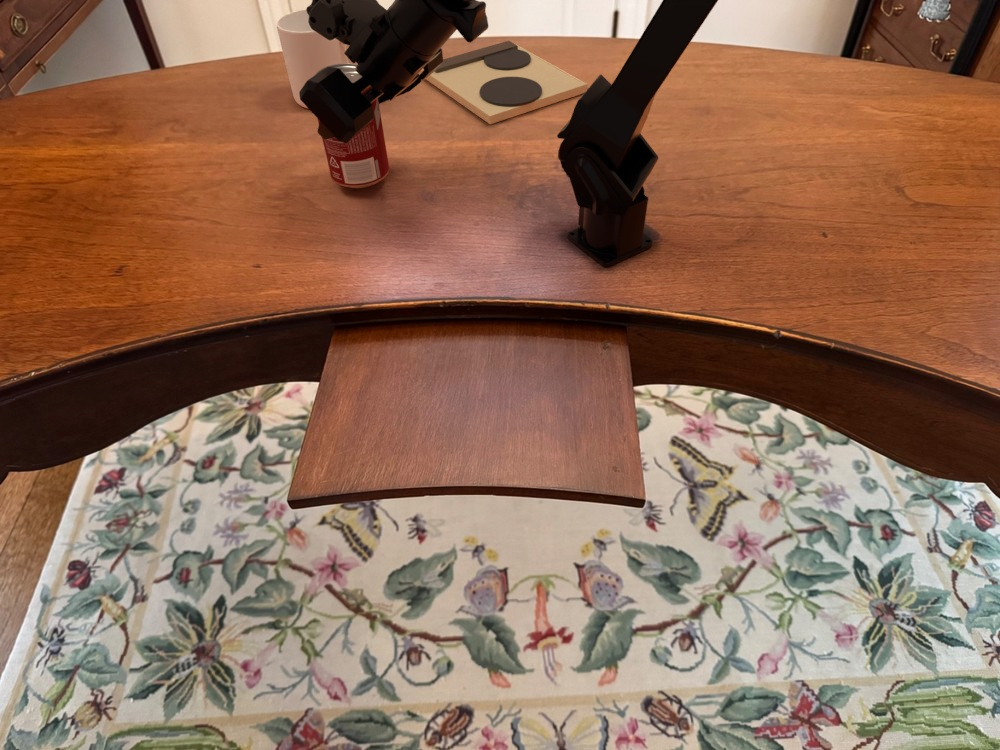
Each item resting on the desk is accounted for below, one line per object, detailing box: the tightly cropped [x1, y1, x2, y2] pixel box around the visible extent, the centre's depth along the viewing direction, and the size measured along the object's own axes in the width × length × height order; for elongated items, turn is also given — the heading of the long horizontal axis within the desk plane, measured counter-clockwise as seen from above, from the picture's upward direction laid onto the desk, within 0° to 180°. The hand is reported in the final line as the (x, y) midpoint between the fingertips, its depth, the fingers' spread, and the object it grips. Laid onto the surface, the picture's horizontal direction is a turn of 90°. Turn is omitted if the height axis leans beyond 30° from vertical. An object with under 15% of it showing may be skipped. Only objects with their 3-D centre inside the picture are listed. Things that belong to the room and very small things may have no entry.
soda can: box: [315, 62, 390, 189], centre depth 78 cm, size 7×7×12 cm
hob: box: [421, 40, 588, 125], centre depth 100 cm, size 18×16×2 cm
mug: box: [275, 8, 350, 110], centre depth 95 cm, size 12×8×10 cm
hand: (340, 120), depth 79 cm, fingers closed on soda can, 7 cm apart
